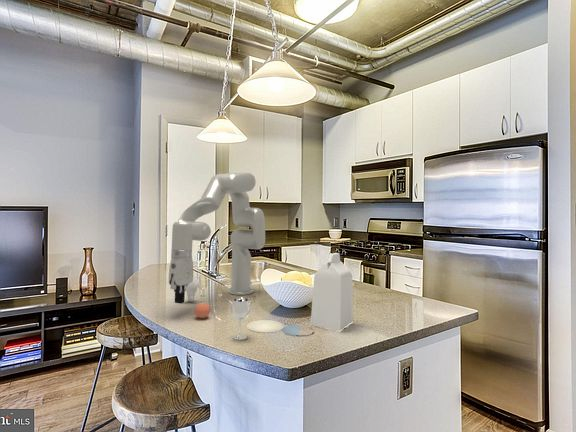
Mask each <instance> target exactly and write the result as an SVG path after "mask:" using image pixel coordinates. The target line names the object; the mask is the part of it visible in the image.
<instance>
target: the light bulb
mask: <svg viewBox="0 0 576 432" xmlns="http://www.w3.org/2000/svg"><path fill="white" fill-rule="evenodd" d="M199 287H200V281H199V279H197V277H194V276H193V281H192V282H191V283H189V285H188V286H187V287H186V291H185V294H186V296H187V302H189V303H192V302H194V301H195V296H196V292H197V291H198V289H199Z"/></svg>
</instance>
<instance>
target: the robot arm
mask: <svg viewBox="0 0 576 432" xmlns="http://www.w3.org/2000/svg"><path fill="white" fill-rule="evenodd" d="M256 183H257V181H256V178H255V176H254V175H253V174H252V173H250V172H228V173H227V172H226V173H218V174H217V173H216V174H215V175H213V176H212V177H211V178H210V181H209V182H208V183H207V186H206V188H205V190H204V191H203V193H202V195H201V198H199V199H198V200H197V201H195V202H193V203H192V204H191V205H190V206H188V207H187V208H186V209H185V210H184V211H183V212H182V213H181V215H180V217H179V218H178V221H175V222H173V224H172V228H171V229H172V231H171V232H172V233H171V249H170V250H171V252H170V263H169V269H168V270H169V272H168V284H169V286H170V290H173V292H174V303H175V304H184V303H185V294H186V287H187V286H188V285H189V283H191V282H192V281H193V277H194V261H193V241H199V242H200V241H206V240H208V238H209V237H210V236H211V234H212V233H211V232H212V230H211V227H210V225H209V224H208V223H206V222H204V221H197V220H198V219H199V218H202V217H203V216H206V215H208V214H211V213H214V212H215V211H217V210H219V208H220V207H221V204H222V202H223V200H224V198H225V196H226V195H227V194H228V195H229V196H230V199H231V210H232V211H231V213H232V222H233V224H234V225H235V226H237V227H242V228H237V229H234V230H233V231H232V232H231V234H230V246H231V274H230V275H231V279H230V280H231V281H230V288H228V289H227V293H228V294H230V295H234V296H235V295H236V296H244V295H251V294H254V289H253V288H251V286H252V285H253V284H252V281H251V278H252V277H251V274H252V255H251V253H250V250H249V249H251V250H261V249H262V248H263V249H264V246H265V244H266V219H265V214H264V212H263V210H262V209H261V208H259V207H251V206H250V197H249V194H248V192H250V191H252V190H254V188H255V186H256ZM249 228H251V229H249Z"/></svg>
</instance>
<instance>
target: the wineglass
mask: <svg viewBox="0 0 576 432" xmlns="http://www.w3.org/2000/svg"><path fill="white" fill-rule="evenodd" d="M250 310H251V309H250V300H249V299H248V298H246V297H245V298H244V297H237V298H234V299H233V301H232V305H231V315H232V318H233V319H235V320H237V321H238V327H239V328H238V329H239V330H238V334H235V335H233V336H232V339H233V340H238V341H239V340H240V341H242V340H246V339H247V337H248V336H247V335H245V334H242V330H241V329H242V325H243V322H242V321H243V320H245V319H247V318H248V317H249V315H250V312H251V311H250Z"/></svg>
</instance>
